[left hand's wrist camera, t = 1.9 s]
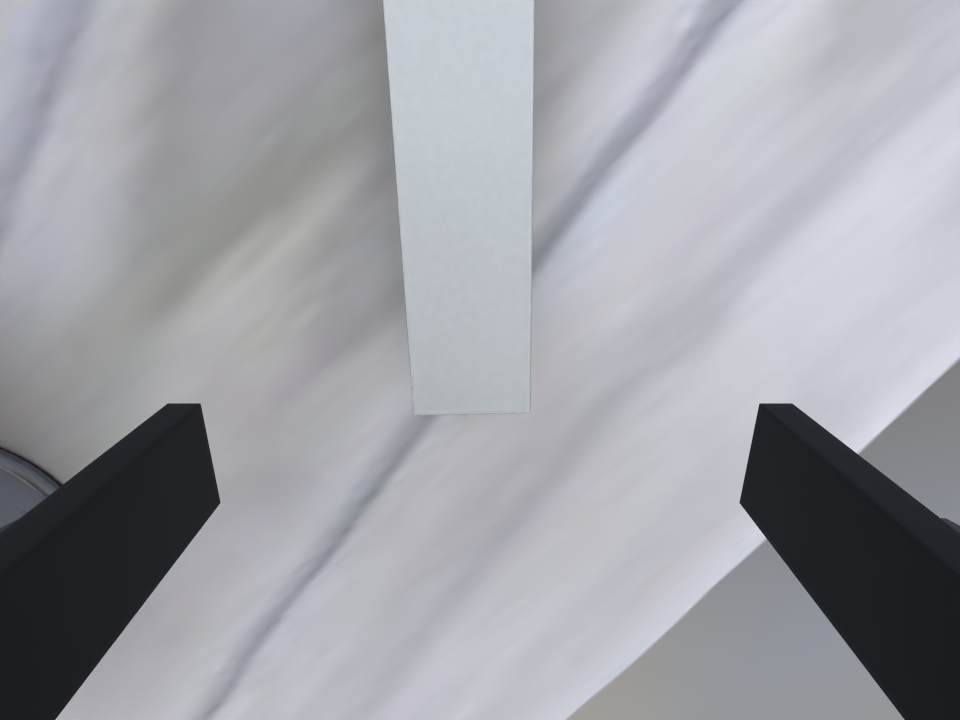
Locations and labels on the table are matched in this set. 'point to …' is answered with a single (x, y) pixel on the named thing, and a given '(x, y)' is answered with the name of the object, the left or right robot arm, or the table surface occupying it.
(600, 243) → the table surface
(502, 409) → the bar
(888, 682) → the left robot arm
